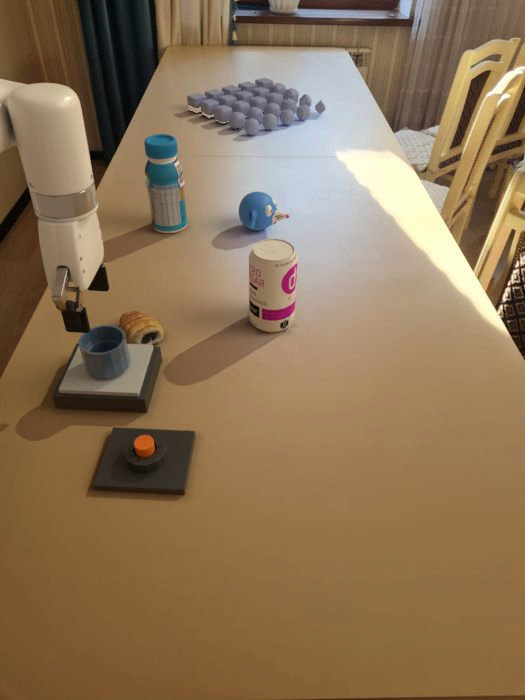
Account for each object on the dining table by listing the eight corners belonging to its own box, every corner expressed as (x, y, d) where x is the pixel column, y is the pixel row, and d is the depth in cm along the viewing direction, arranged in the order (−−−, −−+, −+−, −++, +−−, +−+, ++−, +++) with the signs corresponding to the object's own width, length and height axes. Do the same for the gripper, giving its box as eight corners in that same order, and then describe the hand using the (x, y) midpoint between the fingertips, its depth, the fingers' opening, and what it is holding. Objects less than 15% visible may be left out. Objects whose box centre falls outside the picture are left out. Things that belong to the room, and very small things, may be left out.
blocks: (264, 91, 204) (264, 77, 201) (329, 115, 185) (331, 100, 181) (187, 110, 187) (186, 95, 184) (250, 139, 168) (250, 122, 164)
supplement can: (301, 315, 101) (306, 244, 91) (280, 340, 95) (283, 267, 85) (264, 302, 104) (265, 232, 94) (241, 325, 98) (239, 253, 88)
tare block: (95, 490, 72) (90, 477, 70) (114, 432, 79) (110, 418, 77) (184, 495, 71) (183, 481, 69) (195, 436, 79) (194, 422, 77)
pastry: (111, 327, 97) (107, 310, 95) (144, 314, 101) (142, 297, 98) (134, 355, 92) (131, 337, 89) (169, 340, 95) (167, 323, 92)
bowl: (80, 380, 82) (72, 353, 78) (93, 350, 87) (86, 324, 83) (124, 382, 82) (119, 355, 78) (135, 352, 87) (130, 325, 83)
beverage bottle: (164, 238, 121) (153, 150, 108) (144, 224, 126) (132, 137, 113) (195, 227, 125) (188, 140, 112) (175, 213, 130) (166, 129, 117)
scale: (56, 409, 82) (50, 391, 80) (80, 356, 91) (75, 339, 89) (147, 413, 82) (143, 395, 80) (162, 360, 91) (159, 342, 89)
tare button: (133, 457, 73) (131, 449, 71) (138, 442, 74) (136, 434, 73) (152, 458, 72) (151, 450, 71) (156, 443, 74) (155, 435, 73)
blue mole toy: (281, 246, 119) (282, 211, 114) (231, 236, 122) (229, 202, 117) (296, 221, 128) (298, 187, 122) (249, 213, 131) (248, 180, 125)
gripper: (57, 166, 72) (81, 274, 83) (4, 230, 59) (41, 347, 70) (113, 169, 72) (129, 277, 83) (73, 234, 59) (98, 351, 70)
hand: (89, 309), depth 77 cm, fingers open, 9 cm apart
